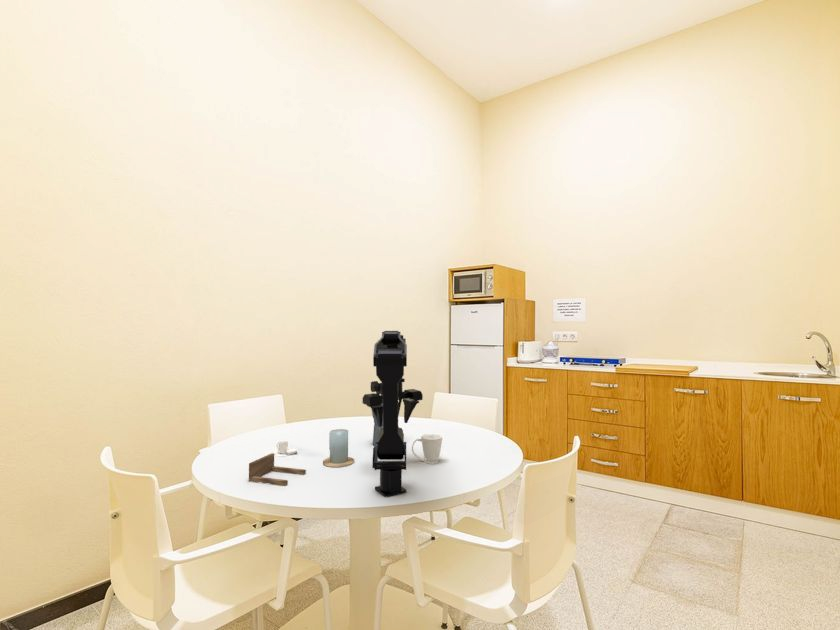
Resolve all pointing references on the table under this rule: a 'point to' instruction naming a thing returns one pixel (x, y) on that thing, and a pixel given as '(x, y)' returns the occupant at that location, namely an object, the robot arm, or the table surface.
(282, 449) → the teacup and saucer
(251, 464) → the dock
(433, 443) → the cup
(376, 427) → the moka pot
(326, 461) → the coaster
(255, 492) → the table surface
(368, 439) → the table surface
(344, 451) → the jug
